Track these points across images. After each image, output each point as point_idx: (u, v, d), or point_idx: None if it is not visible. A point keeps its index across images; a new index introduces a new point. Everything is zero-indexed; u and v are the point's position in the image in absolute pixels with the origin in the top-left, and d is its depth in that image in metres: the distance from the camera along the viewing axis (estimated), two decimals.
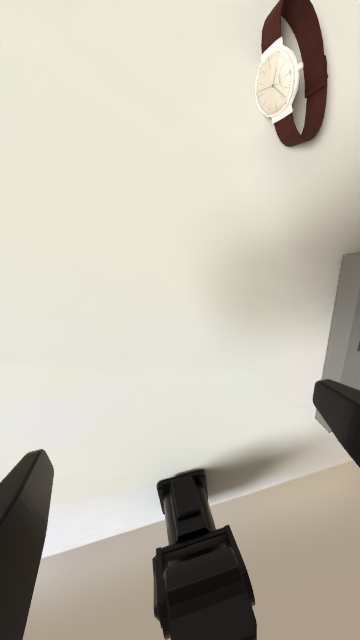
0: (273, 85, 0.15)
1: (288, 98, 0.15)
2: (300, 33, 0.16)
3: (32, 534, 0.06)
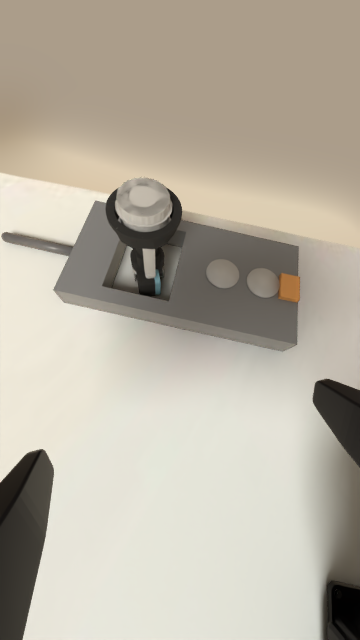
0: None
1: None
2: None
3: (32, 534, 0.06)
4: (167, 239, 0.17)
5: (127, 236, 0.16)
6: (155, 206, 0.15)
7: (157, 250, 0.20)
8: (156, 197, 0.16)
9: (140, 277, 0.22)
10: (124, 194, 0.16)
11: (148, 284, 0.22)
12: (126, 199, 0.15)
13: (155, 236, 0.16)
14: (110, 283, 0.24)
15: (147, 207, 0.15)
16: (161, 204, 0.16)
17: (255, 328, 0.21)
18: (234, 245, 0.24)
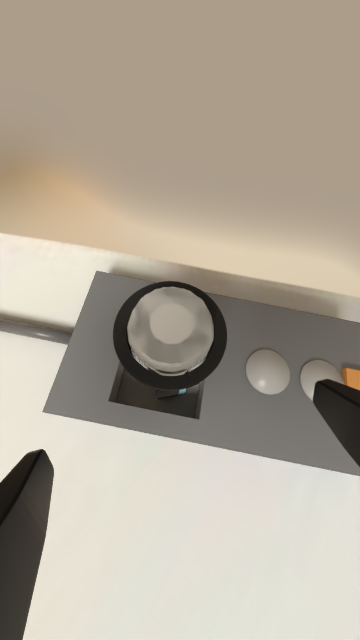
0: None
1: None
2: None
3: (32, 534, 0.06)
4: None
5: (148, 385, 0.10)
6: (191, 341, 0.10)
7: None
8: (191, 323, 0.10)
9: None
10: (141, 321, 0.10)
11: (170, 394, 0.16)
12: (145, 331, 0.10)
13: (192, 383, 0.10)
14: (118, 383, 0.18)
15: (179, 344, 0.10)
16: (200, 336, 0.10)
17: (319, 456, 0.15)
18: (278, 326, 0.19)
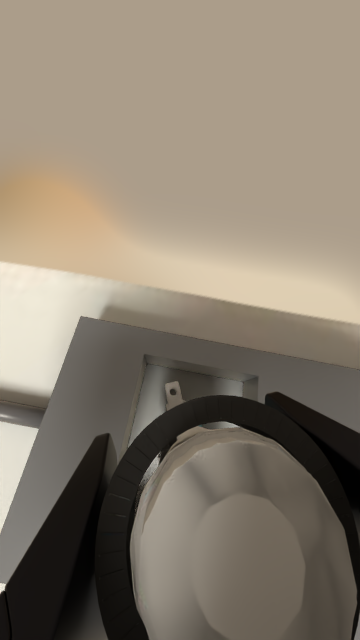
0: None
1: None
2: None
3: None
4: None
5: None
6: (308, 629, 0.04)
7: None
8: (299, 560, 0.04)
9: None
10: (169, 564, 0.04)
11: None
12: (182, 601, 0.04)
13: None
14: None
15: None
16: (329, 608, 0.04)
17: None
18: (354, 401, 0.12)
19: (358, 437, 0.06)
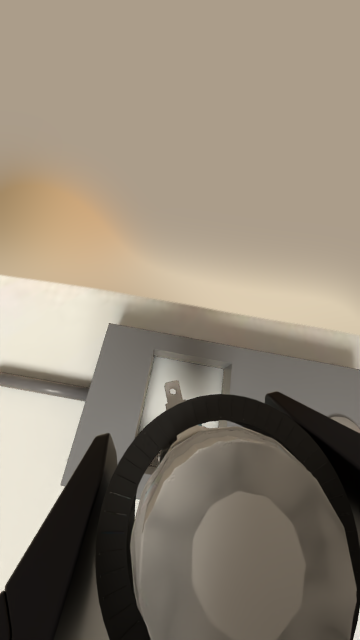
0: None
1: None
2: None
3: None
4: None
5: None
6: (308, 626, 0.04)
7: None
8: (299, 557, 0.04)
9: None
10: (169, 562, 0.04)
11: None
12: (182, 599, 0.04)
13: None
14: None
15: None
16: (329, 605, 0.04)
17: None
18: (296, 379, 0.18)
19: (358, 437, 0.06)
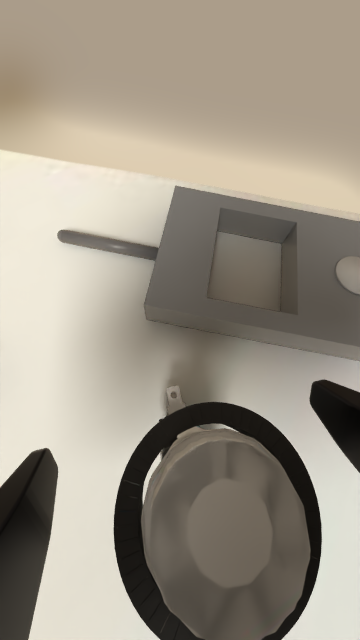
0: None
1: None
2: None
3: (37, 532, 0.06)
4: None
5: None
6: (273, 576, 0.05)
7: None
8: (268, 527, 0.05)
9: None
10: (171, 529, 0.05)
11: None
12: (181, 556, 0.05)
13: None
14: None
15: (249, 586, 0.05)
16: (289, 561, 0.05)
17: None
18: None
19: None
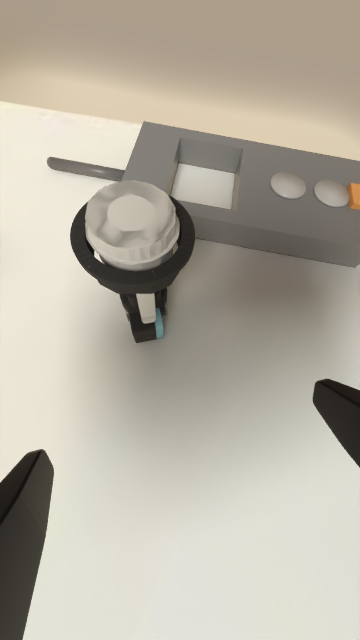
0: None
1: None
2: None
3: (32, 534, 0.06)
4: (173, 277, 0.11)
5: (107, 281, 0.09)
6: (152, 229, 0.09)
7: None
8: (153, 213, 0.09)
9: (135, 320, 0.15)
10: (98, 210, 0.09)
11: (146, 331, 0.16)
12: (102, 219, 0.09)
13: (155, 279, 0.09)
14: None
15: (138, 231, 0.09)
16: (162, 225, 0.09)
17: (331, 235, 0.20)
18: (294, 160, 0.23)
19: None
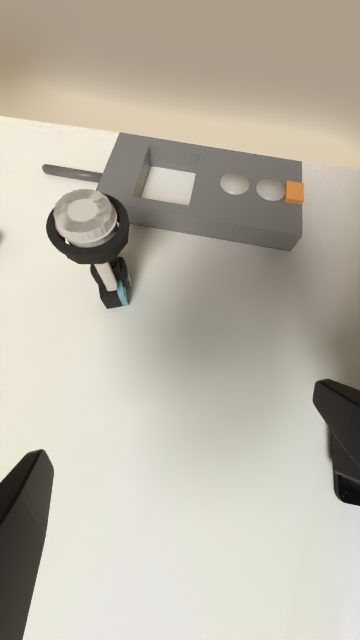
0: None
1: None
2: None
3: (32, 534, 0.06)
4: (115, 253, 0.16)
5: (68, 253, 0.15)
6: (94, 220, 0.14)
7: (115, 261, 0.19)
8: (96, 210, 0.15)
9: (102, 289, 0.21)
10: (61, 209, 0.15)
11: (111, 297, 0.21)
12: (64, 214, 0.14)
13: (98, 252, 0.15)
14: None
15: (86, 222, 0.14)
16: (101, 217, 0.15)
17: (265, 224, 0.24)
18: (243, 162, 0.27)
19: None
